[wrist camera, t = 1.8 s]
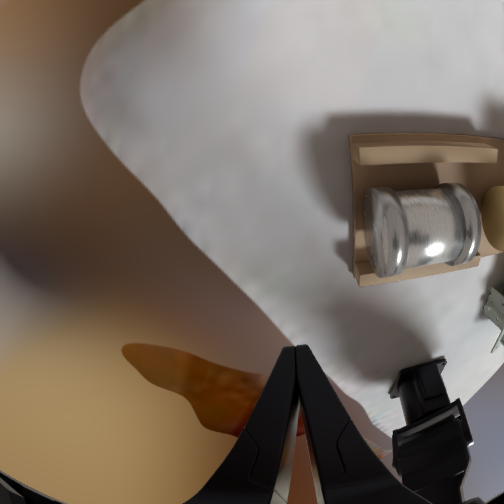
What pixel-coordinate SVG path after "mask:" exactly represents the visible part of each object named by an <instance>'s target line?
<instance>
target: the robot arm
mask: <svg viewBox="0 0 504 504" xmlns="http://www.w3.org/2000/svg"><path fill="white" fill-rule="evenodd" d="M446 363H447V361H446V359H442V360H439V361H435V362H432V363H428V364H425V365H421V366H417V367H413V368H409V369H405V370H402V371H401V372H400V373H399V375H398V378H397V380H396V382H395V385H394V387H393V389H392V392H391V394H390V398H391V399H393V398H397V397H400V401H401V405H402V409H403V413H404V417H405V421H406V425H407V426H405V427H402V428H400V429H396V430H394V431H393V435H392V443H393V462H392V466H393V468H395V469H396V471H397V473H398V475H399V476H400V477H402V483H400V482H399V481H398V480H397V479H396V478H395V477H394V476H393V475H392V473H391V472H390V471H389V470H388V469H387V468H386V466H385V465H384V464H383V463H382V462H381V461H380V459H379V458H378V457H377V456H376V454H375V453H374V452H373V451H372V449H371V448H370V447H369V445H368V444H367V443H366V441H365V440H364V439H363V437H362V435H361V434H360V432H359V431H358V429H357V428H356V426H355V425H354V423H353V421H352V420H351V418H350V416H349V414H348V413H347V411H346V409H345V407H344V406H343V404H342V402H341V401H340V399H339V397H338V396H337V394H336V392H335V390H334V389H333V387H332V385H331V384H330V382H329V380H328V378H327V377H326V375H325V373H324V372H323V370H322V368H321V367H320V365H319V363H318V361H317V360H316V358H315V356H314V355H313V353H312V351H311V350H310V348H309V346H308V345H306V344H304V345H297V346H296V347H295V346H285V347H283V348H282V351H281V353H280V355H279V357H278V359H277V361H276V364H275V365H274V368H273V370H272V372H271V374H270V376H269V378H268V380H267V382H266V385H265V387H264V389H263V391H262V393H261V395H260V397H259V399H258V401H257V403H256V405H255V407H254V409H253V411H252V413H251V415H250V417H249V419H248V421H247V423H246V425H245V428H244V429H243V430H242V432H241V434H240V436H239V438H238V439H237V441H236V443H235V444H234V446H233V448H232V449H231V451H230V452H229V454H228V455H227V457H226V458H225V460H224V461H223V462H222V464H221V465H220V466H219V468H218V469H217V470H216V471H215V473H214V474H213V475H212V476H211V478H210V479H209V480H208V481H207V483H206V484H205V485H204V486H203V487H202V488H201V490H200V491H199V492H198V493H197V494H195V495H194V496H193V497H192V498H190V499H189V500H188V501H186V502H184V503H183V504H287V498H288V492H289V485H290V478H291V472H292V464H293V456H294V448H295V439H296V431H297V421H298V411H299V401H300V408H301V413H302V419H303V424H304V429H305V435H306V440H307V446H308V451H309V457H310V462H311V468H312V474H313V479H314V485H315V491H316V497H317V503H318V504H504V491H503V492H502V493H500V494H499V495H497V496H496V497H494V498H492V499H490V500H489V501H487V502H484V501H483V500H481V498H479V497H476V498H473V499H470V500H468V501H464V495H463V484H464V481H465V478H466V476H467V473H468V470H469V467H470V464H471V456H470V452H469V447H470V446H472V445H473V444H474V442H473V439H472V435H471V431H470V428H469V425H468V421H467V418H466V415H465V412H464V409H463V406H462V403H461V401H460V398H458V399H456V401H454V402H452V403H450V400H449V397H448V394H447V391H446V387H445V385H444V382H443V379H442V377H441V372H442V371H443V369H444V367H445V365H446ZM458 414H460V416H459V417H457V418H455V417H454V416H456V415H458ZM0 504H67V503H64V502H61V501H59V500H57V499H54V498H52V497H50V496H47V495H45V494H43V493H41V492H39V491H37V490H35V489H33V488H31V487H29V486H27V485H25V484H23V483H21V482H19V481H18V480H16V479H14V478H12V477H10V476H9V475H7V474H5V473H4V472H2V471H0Z"/></svg>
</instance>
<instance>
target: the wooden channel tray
mask: <svg viewBox="0 0 504 504" xmlns="http://www.w3.org/2000/svg"><path fill="white" fill-rule="evenodd" d="M349 143H350V155H351V169H352V188H353V276H354V278H356V279H357V282H358V285H359V287H363V286H370V285H377V284H383V283H389V282H396V281H402V280H408V279H413V278H419V277H425V276H430V275H436V274H441V273H446V272H451V271H456V270H461V269H466V268H471V267H476V266H478V265H479V261H480V257H484V256H489V255H494V254H499V253H504V139H500V138H492V137H482V136H471V135H458V134H440V133H371V134H351V135H349ZM441 183H460V184H462V185H464V186H465V187H467V189H468V190H469V191H470V192H471V194H472V195H473V197H474V199H475V201H476V203H477V206H478V209H479V213H480V218H481V240H480V245H479V248H478V251H477V253H476V255H475V257H474V258H473V259H472V260H471V261H470V262H468V263H465V264H460V265H455V266H449V265H447V264H445V263H444V262H443V263H437V264H431V265H425V266H419V267H413V268H407V269H404V270H403V272H402V273H401V274H400V275H397V276H391V277H384V278H379V277H377V276H376V274H375V273H374V271H373V269H372V267H371V264H370V261H369V258H368V254H367V249H366V244H365V238H364V230H363V201H364V196H365V193H366V191H367V189H369V188H375V187H390V188H392V189H393V190H394V191H405V190H419V189H435V188H436V186H438V185H439V184H441Z"/></svg>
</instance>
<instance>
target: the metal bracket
mask: <svg viewBox="0 0 504 504" xmlns="http://www.w3.org/2000/svg"><path fill="white" fill-rule="evenodd" d="M490 292H491V294H489V297H488V300H487V303H486V305H485V306H484V312H483V313H484V314H485V315H486V316H487V317H488V318H489V319H490V320H491V321H492V322H493V323H494V324H495V325H496V326H497V327H499V328H500V329H501V330H502V331H501V333H500V335H499V337H498V339H497V341H496V343H495V345H494V347H493V349H492V351H491V353H493V352H494V351H495V350H496V349H497V348H498V347H499V346H500V345H501V344H503V345H504V305H503V303H504V296H503V295H502V294H501V293H499V292H498V291H497V290H496V289H495V288H493V287H492V288H491V291H490ZM497 318H498V320H497Z"/></svg>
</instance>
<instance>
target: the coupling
mask: <svg viewBox="0 0 504 504" xmlns="http://www.w3.org/2000/svg"><path fill="white" fill-rule="evenodd" d="M363 230H364V238H365V244H366V249H367V254H368V258H369V261H370V264H371V267H372V269H373V271H374V273H375V274H376V276H377V277H379V278H384V277H391V276H397V275H400V274H401V273H402V272H403V270H404V269H407V268H413V267H419V266H425V265H431V264H437V263H443V262H444V263H445V264H447V265H449V266H455V265H460V264H465V263H468V262H470V261H471V260H472V259H473V258H474V257H475V255H476V253H477V251H478V248H479V245H480V240H481V218H480V213H479V209H478V206H477V203H476V201H475V199H474V197H473V195H472V194H471V192H470V191H469V190H468V189H467V187H465V186H464V185H462V184H460V183H441V184H439V185H438V186H436V188H435V189H419V190H405V191H394V190H393V189H392V188H390V187H375V188H369V189H367V191H366V193H365V196H364V201H363Z"/></svg>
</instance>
